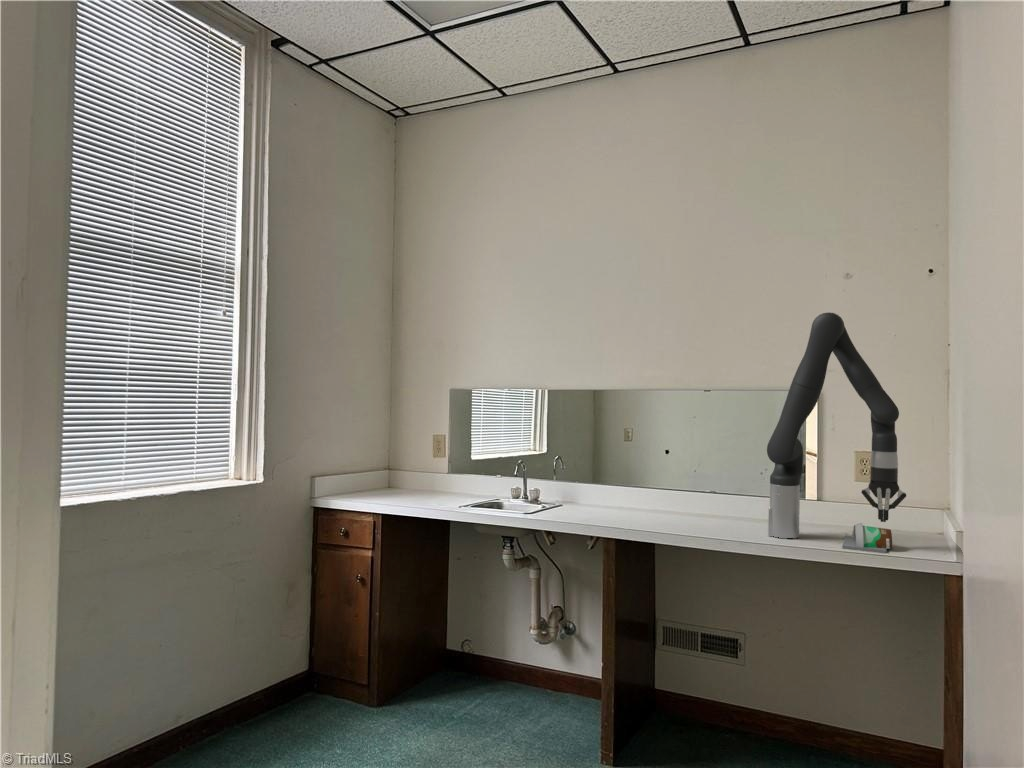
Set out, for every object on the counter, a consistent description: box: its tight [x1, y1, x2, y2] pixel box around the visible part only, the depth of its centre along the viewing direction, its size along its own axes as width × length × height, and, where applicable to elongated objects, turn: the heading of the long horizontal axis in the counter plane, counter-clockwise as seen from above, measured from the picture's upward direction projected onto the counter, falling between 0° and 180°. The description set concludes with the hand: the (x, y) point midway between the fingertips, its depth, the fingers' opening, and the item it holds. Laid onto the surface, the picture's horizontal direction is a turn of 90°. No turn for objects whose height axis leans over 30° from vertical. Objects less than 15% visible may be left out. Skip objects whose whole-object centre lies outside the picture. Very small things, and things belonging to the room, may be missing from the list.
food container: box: [852, 522, 893, 550], centre depth 220 cm, size 12×6×10 cm
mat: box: [841, 535, 887, 554], centre depth 222 cm, size 12×16×1 cm
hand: (883, 521), depth 220 cm, fingers closed
